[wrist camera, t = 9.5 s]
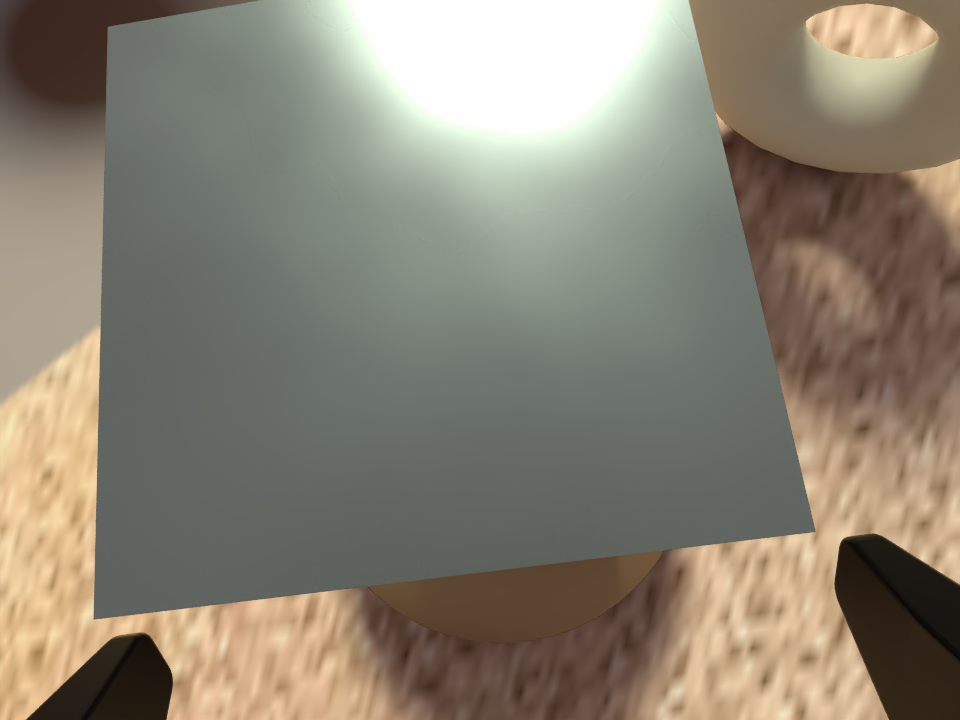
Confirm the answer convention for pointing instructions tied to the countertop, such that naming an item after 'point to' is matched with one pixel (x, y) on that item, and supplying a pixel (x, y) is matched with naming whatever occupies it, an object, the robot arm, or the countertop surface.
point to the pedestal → (519, 598)
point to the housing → (421, 300)
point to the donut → (832, 86)
